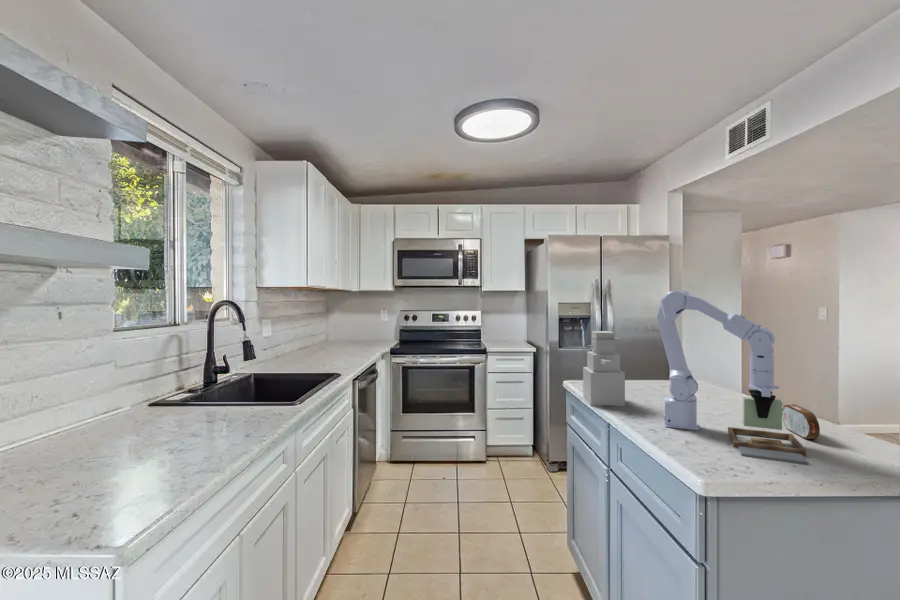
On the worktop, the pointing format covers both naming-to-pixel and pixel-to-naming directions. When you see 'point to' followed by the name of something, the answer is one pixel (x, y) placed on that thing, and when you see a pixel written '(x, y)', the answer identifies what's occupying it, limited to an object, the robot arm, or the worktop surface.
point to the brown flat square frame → (792, 439)
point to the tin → (801, 421)
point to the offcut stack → (765, 441)
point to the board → (754, 421)
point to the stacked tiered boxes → (603, 372)
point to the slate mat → (772, 455)
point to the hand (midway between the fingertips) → (761, 416)
